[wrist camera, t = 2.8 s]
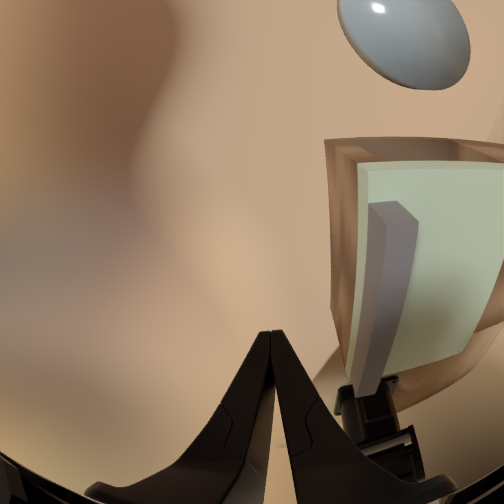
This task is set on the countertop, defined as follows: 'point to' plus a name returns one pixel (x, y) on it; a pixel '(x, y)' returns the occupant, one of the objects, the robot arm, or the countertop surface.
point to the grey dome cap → (408, 40)
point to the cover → (422, 263)
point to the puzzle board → (346, 210)
